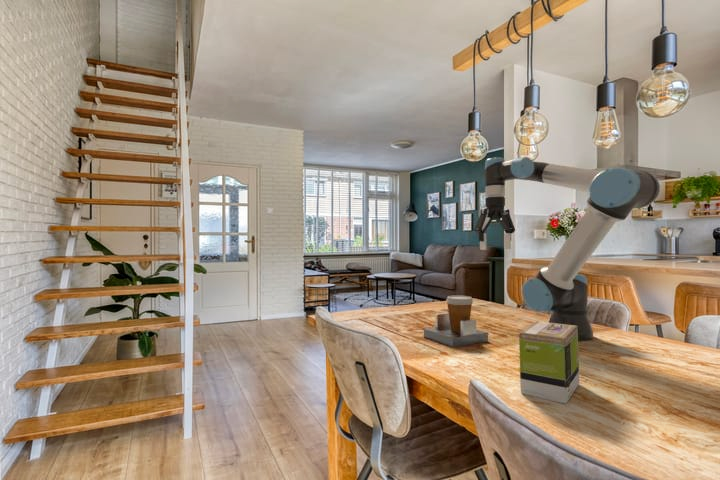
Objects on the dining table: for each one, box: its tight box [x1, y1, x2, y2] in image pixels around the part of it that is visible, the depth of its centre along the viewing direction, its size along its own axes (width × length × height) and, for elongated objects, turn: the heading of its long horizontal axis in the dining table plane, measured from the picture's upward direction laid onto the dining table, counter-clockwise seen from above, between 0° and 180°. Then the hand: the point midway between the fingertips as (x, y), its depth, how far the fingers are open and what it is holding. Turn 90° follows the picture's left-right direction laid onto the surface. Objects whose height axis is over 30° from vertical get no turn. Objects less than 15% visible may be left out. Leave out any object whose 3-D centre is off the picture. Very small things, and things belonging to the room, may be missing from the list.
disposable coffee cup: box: [445, 294, 474, 332], centre depth 140 cm, size 10×10×12 cm
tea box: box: [518, 320, 580, 404], centre depth 93 cm, size 15×10×15 cm, turn 141°
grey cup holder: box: [423, 312, 489, 348], centre depth 140 cm, size 16×16×8 cm
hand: (495, 249), depth 156 cm, fingers open, 13 cm apart
